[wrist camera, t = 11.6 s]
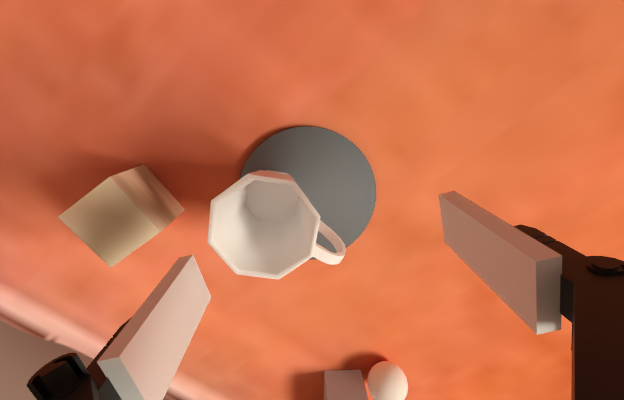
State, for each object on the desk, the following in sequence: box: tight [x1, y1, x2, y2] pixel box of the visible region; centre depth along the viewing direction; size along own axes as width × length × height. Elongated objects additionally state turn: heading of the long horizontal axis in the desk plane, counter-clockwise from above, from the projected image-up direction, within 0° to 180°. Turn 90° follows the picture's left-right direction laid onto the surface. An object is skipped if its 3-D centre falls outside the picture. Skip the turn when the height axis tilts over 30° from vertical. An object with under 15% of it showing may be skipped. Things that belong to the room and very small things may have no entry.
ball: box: [368, 361, 408, 400], centre depth 31 cm, size 4×4×4 cm
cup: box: [208, 170, 346, 279], centre depth 22 cm, size 7×10×8 cm
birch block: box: [58, 164, 185, 268], centre depth 24 cm, size 5×5×5 cm
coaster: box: [239, 126, 376, 259], centre depth 26 cm, size 12×12×1 cm
